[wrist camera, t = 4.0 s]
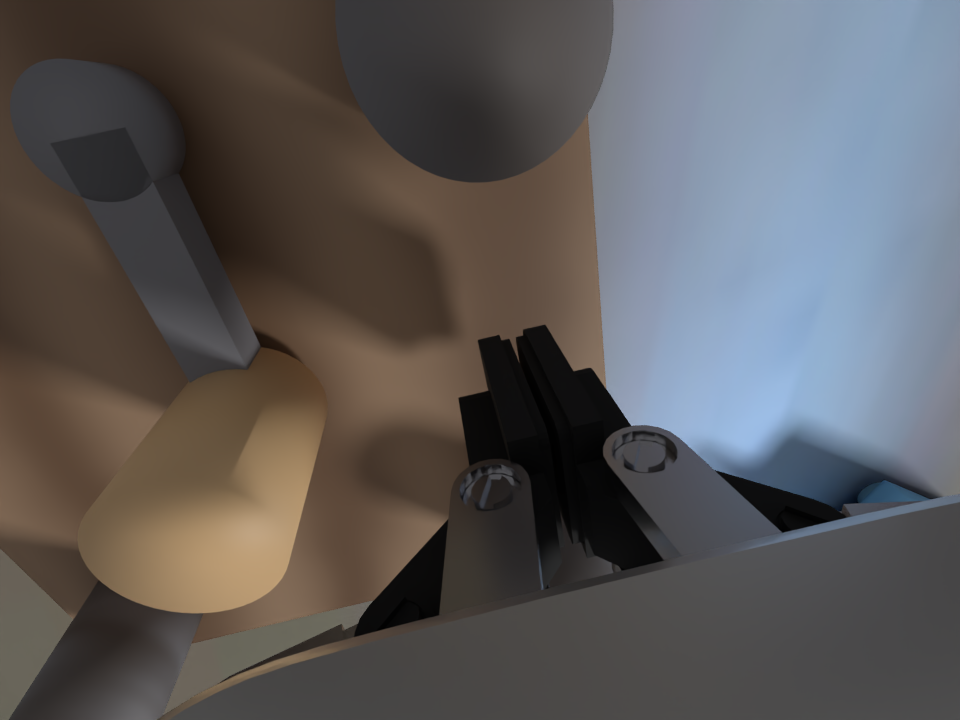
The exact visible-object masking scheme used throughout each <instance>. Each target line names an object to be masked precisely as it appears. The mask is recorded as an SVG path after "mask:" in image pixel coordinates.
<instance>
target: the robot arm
mask: <svg viewBox="0 0 960 720" xmlns="http://www.w3.org/2000/svg"><path fill="white" fill-rule="evenodd" d="M478 345H479V350H480V355H481V359H482V364H483V369H484V373H485V378H486V383H487V388H488V391H485V392H481V393H476V394H472V395H468V396H463V397H459V398H458V399H459V406H460V412H461V418H462V424H463V430H464V436H465V443H466V449H467V455H468V461H469V467H468V468H466V469H465V470H464V471H463V472H461V473H460V474H459V475H458V477H457V478H456V480H455V481H454V483H453V486H452V490H451V496H450V507H449V517H448V520H447V521H446V522H445V523H444V524H443V525H442V526H441V527H440V528H439V530H438V531H437V532H436V533H435V534H434V535H433V536H432V537H431V538H430V539H429V541H428V542H427V543H426V544H425V545H424V546H423V547H422V548H421V549H420V550H419V552H418V553H417V554H416V555H415V556H414V557H413V558H412V559H411V560H410V561H409V562H408V564H407V565H406V566H405V567H404V568H403V569H402V570H401V571H400V572H399V573H398V575H397V576H396V577H395V578H394V579H393V580H392V581H391V582H390V583H389V584H388V586H387V587H386V588H385V589H384V590H383V591H382V592H381V593H380V594H379V595H378V597H377V598H376V599H375V600H374V601H373V602H372V603H371V604H370V605H369V607H368V608H367V609H366V611H365V612H364V614H363V615H362V616H361V618H360V620H359V623H358V624H356V625H354V626H352V627H350V628H348V629H346V630H345V629H344V627H343V626H342V624H340V625H338V626H336V627H334V628H332V629H330V630H327V631H325V632H323V633H321V634H319V635H317V636H315V637H312V638H310V639H308V640H306V641H304V642H302V643H300V644H297V645H295V646H293V647H291V648H289V649H287V650H284V651H282V652H280V653H278V654H276V655H274V656H272V657H269V658H267V659H265V660H263V661H261V662H259V663H257V664H254V665H252V666H250V667H248V668H246V669H244V670H242V671H239V672H237V673H235V674H233V675H231V676H229V677H228V678H226V679H225V680H223V681H221V682H220V683H218V684H217V685H215V686H213V687H211V688H209V689H207V690H205V691H203V692H201V693H199V694H197V695H195V696H194V697H192V698H190V699H189V700H187V701H186V702H184V703H182V704H181V705H179V706H178V707H176V708H174V709H173V710H171V711H170V712H168V713H166V714H165V715H163V716H162V717H160V718H158V719H157V720H960V494H958V495H952V496H946V497H940V498H936V499H931V500H926V501H907V502H882V503H857V504H843V508H842V511H837V510H836V509H834V508H833V507H831V506H829V505H826V504H824V503H821V502H819V501H816V500H814V499H810V498H807V497H804V496H800V495H797V494H793V493H790V492H787V491H783V490H780V489H776V488H773V487H770V486H766V485H763V484H760V483H756V482H753V481H749V480H746V479H743V478H739V477H736V476H732V475H729V474H726V473H722V472H719V471H716V470H713V469H712V468H711V467H710V466H709V465H708V464H707V463H706V462H705V461H704V460H703V459H701V458H700V457H699V456H698V455H697V454H696V453H695V452H694V451H693V450H692V449H691V448H689V447H688V446H687V445H686V444H685V443H684V442H683V441H682V440H681V439H680V438H678V437H677V436H676V435H674V434H673V433H671V432H669V431H667V430H664V429H662V428H659V427H653V426H647V425H640V426H631V425H630V424H629V422H628V421H627V419H626V418H625V416H624V415H623V413H622V412H621V410H620V409H619V407H618V406H617V404H616V403H615V401H614V400H613V398H612V397H611V395H610V394H609V392H608V391H607V390H606V388H605V387H604V385H603V384H602V382H601V381H600V379H599V378H598V376H597V375H596V373H595V372H594V371H593V369H592V368H585V369H581V370H577V371H573V369H572V368H571V366H570V364H569V363H568V361H567V359H566V358H565V356H564V354H563V353H562V351H561V349H560V348H559V346H558V344H557V343H556V341H555V339H554V338H553V336H552V334H551V333H550V331H549V329H548V328H547V326H546V325H540V326H536V327H532V328H527V329H523V336H518V337H516V345H517V351H518V357H519V361H518V358H517V356H516V353H515V351H514V349H513V346H512V344H511V341H510V339H505V340H501V338H500V335H496V336H492V337H488V338H483V339H479V340H478ZM560 513H561V514H560ZM561 516H562V518H563V521H564V524H565V527H566V529H567V532H568V535H569V538H570V540H571V542H572V544H577V543H581V544H582V546H583V549H584V552H585V554H586V557H587V558H590V557H595V556H597V557H600V558H602V559H604V560H606V561H608V562H611V565H612V570H613V573H611V574H607V575H603V576H598V577H594V578H590V579H586V580H582V581H578V582H573V583H569V584H565V585H561V586H557V587H553V588H549V582H550V581H551V579H552V578H553V576H554V574H555V573H556V571H557V570H558V568H559V567H560V565H561V564H562V558H561V551H560V547H564V546H565V542H564V535H563V528H562V521H561Z"/></svg>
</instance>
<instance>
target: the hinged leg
mask: <svg viewBox="0 0 960 720" xmlns="http://www.w3.org/2000/svg"><path fill="white" fill-rule="evenodd" d="M10 114H11V121H12V124H13V128H14V131H15V133H16V136H17V138H18V140H19V142H20V144H21V146H22V148H23V150H24V151H25V152H26V154H27V155H28V157H29V158H30V159H31V161H32V162H33V163H34V164H35V165H36V167H37V168H38V169H39V170H40V171H41V172H42V173H43V174H44V175H46V176H47V177H48V178H49V179H50V180H52V181H53V182H54V183H56V184H57V185H59V186H60V187H62V188H64V189H65V190H67V191H69V192H71V193H73V194H75V195H78V196H80V197H82V199H83V200H84V202H85V204H86V206H87V207H88V209H89V211H90V212H91V214H92V216H93V218H94V219H95V221H96V223H97V224H98V226H99V228H100V230H101V231H102V233H103V235H104V236H105V238H106V240H107V242H108V243H109V245H110V247H111V248H112V250H113V252H114V254H115V255H116V257H117V259H118V260H119V262H120V264H121V266H122V267H123V269H124V271H125V272H126V274H127V276H128V278H129V279H130V281H131V283H132V284H133V286H134V288H135V290H136V291H137V293H138V295H139V296H140V298H141V300H142V302H143V303H144V305H145V307H146V308H147V310H148V312H149V314H150V315H151V317H152V319H153V320H154V322H155V324H156V326H157V327H158V329H159V331H160V332H161V334H162V336H163V337H164V339H165V341H166V343H167V344H168V346H169V348H170V349H171V351H172V353H173V355H174V356H175V358H176V360H177V361H178V363H179V365H180V367H181V368H182V370H183V372H184V373H185V375H186V377H187V379H188V380H189V382H188V383H187V384H186V385H185V387H184V388H183V389H182V391H181V392H180V393H179V394H178V396H177V397H176V398H175V399H174V401H173V402H172V403H171V405H170V406H169V407H168V408H167V410H166V411H165V412H164V414H163V415H162V416H161V417H160V419H159V420H158V421H157V423H156V424H155V425H154V426H153V428H152V429H151V430H150V431H149V433H148V434H147V435H146V437H145V438H144V439H143V440H142V442H141V443H140V444H139V446H138V447H137V448H136V449H135V451H134V452H133V453H132V455H131V456H130V457H129V458H128V460H127V461H126V462H125V464H124V465H123V466H122V467H121V469H120V470H119V471H118V472H117V474H116V475H115V476H114V478H113V479H112V480H111V481H110V483H109V484H108V485H107V487H106V488H105V489H104V490H103V492H102V493H101V494H100V496H99V497H98V498H97V499H96V501H95V502H94V503H93V504H92V506H91V507H90V508H89V510H88V511H87V512H86V514H85V515H84V517H83V519H82V521H81V523H80V526H79V530H78V539H77V540H78V547H79V551H80V554H81V557H82V559H83V561H84V562H85V564H86V566H87V567H88V569H89V570H90V571H91V572H92V574H93V575H94V576H95V577H96V578H97V579H98V580H99V581H101V582H102V583H103V584H104V585H106V586H107V587H108V588H110V589H111V590H113V591H114V592H116V593H118V594H119V595H121V596H123V597H125V598H127V599H130V600H132V601H134V602H137V603H140V604H142V605H145V606H149V607H152V608H156V609H161V610H166V611H171V612H180V613H212V612H220V611H225V610H231V609H234V608H238V607H241V606H244V605H246V604H249V603H252V602H254V601H256V600H257V599H259V598H261V597H263V596H264V595H266V594H267V593H269V592H270V591H271V590H272V589H273V588H274V587H275V586H276V585H277V584H278V583H279V582H280V580H281V579H282V578H283V576H284V574H285V572H286V570H287V567H288V564H289V560H290V557H291V553H292V549H293V545H294V541H295V537H296V533H297V530H298V526H299V522H300V518H301V514H302V510H303V507H304V503H305V499H306V495H307V491H308V487H309V483H310V480H311V476H312V472H313V468H314V464H315V460H316V457H317V453H318V449H319V445H320V441H321V437H322V433H323V430H324V426H325V422H326V418H327V412H328V402H327V397H326V394H325V391H324V388H323V386H322V384H321V383H320V381H319V380H318V378H317V377H316V376H315V374H314V373H313V372H312V371H311V370H310V369H309V368H308V367H306V366H305V365H304V364H303V363H301V362H300V361H298V360H297V359H295V358H293V357H291V356H289V355H287V354H285V353H282V352H280V351H276V350H273V349H269V348H263V347H261V346H260V344H259V342H258V340H257V337H256V335H255V333H254V331H253V329H252V327H251V325H250V323H249V321H248V318H247V316H246V314H245V312H244V310H243V308H242V306H241V304H240V302H239V299H238V297H237V295H236V293H235V291H234V289H233V287H232V285H231V283H230V281H229V278H228V276H227V274H226V272H225V270H224V268H223V266H222V264H221V262H220V259H219V257H218V255H217V253H216V251H215V249H214V247H213V245H212V243H211V240H210V238H209V236H208V234H207V232H206V230H205V228H204V226H203V224H202V221H201V219H200V217H199V215H198V213H197V211H196V209H195V207H194V205H193V202H192V200H191V198H190V196H189V194H188V192H187V190H186V188H185V186H184V184H183V181H182V179H181V177H180V175H179V172H180V170H181V168H182V166H183V162H184V159H185V152H186V143H185V135H184V131H183V128H182V125H181V122H180V120H179V118H178V116H177V114H176V112H175V110H174V108H173V107H172V105H171V104H170V102H169V101H168V100H167V99H166V97H165V96H164V95H163V94H162V93H161V92H160V91H159V90H158V89H157V88H156V87H155V86H154V85H153V84H151V83H150V82H149V81H148V80H146V79H145V78H143V77H142V76H140V75H138V74H137V73H135V72H133V71H131V70H128V69H126V68H124V67H120V66H117V65H113V64H106V63H98V62H90V61H81V60H72V59H49V60H45V61H41V62H38V63H36V64H34V65H32V66H30V67H29V68H28V69H26V70H25V71H24V72H23V73H22V74H21V75H20V77H19V78H18V79H17V81H16V83H15V85H14V87H13V90H12V93H11V99H10Z"/></svg>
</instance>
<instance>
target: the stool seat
mask: <svg viewBox="0 0 960 720" xmlns="http://www.w3.org/2000/svg"><path fill="white" fill-rule="evenodd" d="M612 35H613V0H0V549H1V550H3V551H4V552H5V553H6V554H7V555H8V556H9V557H10V558H11V559H12V560H13V561H14V562H15V563H16V564H17V565H18V566H19V567H20V568H21V569H22V570H23V571H24V572H25V573H26V574H27V575H28V576H29V577H30V578H31V579H32V580H33V581H35V582H36V583H37V584H38V585H39V586H40V587H41V588H42V589H43V590H44V591H45V592H46V593H47V594H48V595H49V596H50V597H51V598H52V599H53V600H54V601H55V602H56V603H57V604H58V605H59V606H60V607H61V608H62V609H63V610H64V611H65V612H66V613H68V614H69V615H70V616H71V617H72V618H73V621H72V622H71V624H70V626H69V627H68V629H67V630H66V632H65V633H64V635H63V636H62V638H61V640H60V641H59V643H58V644H57V646H56V647H55V649H54V650H53V652H52V653H51V655H50V657H49V658H48V660H47V661H46V663H45V664H44V666H43V667H42V669H41V671H40V672H39V674H38V675H37V677H36V678H35V680H34V681H33V683H32V684H31V686H30V688H29V689H28V691H27V692H26V694H25V695H24V697H23V698H22V700H21V702H20V703H19V705H18V706H17V708H16V709H15V711H14V712H13V714H12V715H11V717H10V719H9V720H157V719H158V718H160V717H162V716H163V713H164V711H165V708H166V706H167V703H168V701H169V698H170V696H171V693H172V691H173V688H174V686H175V683H176V681H177V678H178V676H179V673H180V671H181V668H182V666H183V663H184V661H185V658H186V656H187V653H188V651H189V648H190V646H191V644H192V643H196V642H200V641H204V640H209V639H213V638H217V637H221V636H225V635H229V634H234V633H238V632H242V631H246V630H250V629H255V628H259V627H263V626H267V625H271V624H275V623H280V622H284V621H288V620H292V619H296V618H301V617H305V616H309V615H313V614H317V613H321V612H326V611H330V610H334V609H338V608H342V607H347V606H351V605H355V604H359V603H363V602H367V601H372V600H375V599H376V598H377V597H378V595H379V594H380V593H381V592H382V591H383V590H384V589H385V588H386V587H387V586H388V584H389V583H390V582H391V581H392V580H393V579H394V578H395V577H396V576H397V575H398V573H399V572H400V571H401V570H402V569H403V568H404V567H405V566H406V565H407V564H408V562H409V561H410V560H411V559H412V558H413V557H414V556H415V555H416V554H417V553H418V552H419V550H420V549H421V548H422V547H423V546H424V545H425V544H426V543H427V542H428V541H429V539H430V538H431V537H432V536H433V535H434V534H435V533H436V532H437V531H438V530H439V528H440V527H441V526H442V525H443V524H444V523H445V522H446V521H447V520H448V517H449V507H450V496H451V490H452V486H453V483H454V481H455V480H456V478H457V477H458V475H459V474H460V473H461V472H463V471H464V470H465V469H466V468H468V467H469V461H468V455H467V449H466V443H465V436H464V430H463V424H462V418H461V412H460V406H459V399H458V398H459V397H463V396H468V395H472V394H476V393H481V392H485V391H488V388H487V383H486V378H485V373H484V369H483V364H482V359H481V355H480V350H479V345H478V340H479V339H483V338H488V337H492V336H496V335H500V338H501V340H505V339H510V341H511V344H512V346H513V349H514V351H515V353H516V356H517V358H518V361H519V357H518V351H517V345H516V337H518V336H523V329H527V328H532V327H536V326H540V325H546V326H547V328H548V329H549V331H550V333H551V334H552V336H553V338H554V339H555V341H556V343H557V344H558V346H559V348H560V349H561V351H562V353H563V354H564V356H565V358H566V359H567V361H568V363H569V364H570V366H571V368H572V369H573V371H577V370H581V369H585V368H592V369H593V371H594V372H595V373H596V375H597V376H598V378H599V379H600V381H601V382H602V384H603V385H604V387H605V388H606V380H605V365H604V350H603V335H602V320H601V305H600V290H599V275H598V260H597V245H596V230H595V215H594V200H593V185H592V170H591V155H590V140H589V125H588V112H589V110H590V109H591V107H592V105H593V103H594V101H595V98H596V96H597V94H598V92H599V90H600V87H601V84H602V81H603V78H604V75H605V72H606V69H607V64H608V60H609V55H610V51H611V43H612ZM49 59H72V60H81V61H90V62H98V63H106V64H113V65H117V66H120V67H124V68H126V69H128V70H131V71H133V72H135V73H137V74H138V75H140V76H142V77H143V78H145V79H146V80H148V81H149V82H150V83H151V84H153V85H154V86H155V87H156V88H157V89H158V90H159V91H160V92H161V93H162V94H163V95H164V96H165V97H166V99H167V100H168V101H169V102H170V104H171V105H172V107H173V108H174V110H175V112H176V114H177V116H178V118H179V120H180V122H181V125H182V128H183V131H184V135H185V143H186V152H185V159H184V162H183V166H182V168H181V170H180V172H179V175H180V177H181V179H182V181H183V184H184V186H185V188H186V190H187V192H188V194H189V196H190V198H191V200H192V202H193V205H194V207H195V209H196V211H197V213H198V215H199V217H200V219H201V221H202V224H203V226H204V228H205V230H206V232H207V234H208V236H209V238H210V240H211V243H212V245H213V247H214V249H215V251H216V253H217V255H218V257H219V259H220V262H221V264H222V266H223V268H224V270H225V272H226V274H227V276H228V278H229V281H230V283H231V285H232V287H233V289H234V291H235V293H236V295H237V297H238V299H239V302H240V304H241V306H242V308H243V310H244V312H245V314H246V316H247V318H248V321H249V323H250V325H251V327H252V329H253V331H254V333H255V335H256V337H257V340H258V342H259V344H260V346H261V347H263V348H269V349H273V350H276V351H280V352H282V353H285V354H287V355H289V356H291V357H293V358H295V359H297V360H298V361H300V362H301V363H303V364H304V365H305V366H306V367H308V368H309V369H310V370H311V371H312V372H313V373H314V374H315V376H316V377H317V378H318V380H319V381H320V383H321V384H322V386H323V388H324V391H325V394H326V397H327V402H328V412H327V418H326V422H325V426H324V430H323V433H322V437H321V441H320V445H319V449H318V453H317V457H316V460H315V464H314V468H313V472H312V476H311V480H310V483H309V487H308V491H307V495H306V499H305V503H304V507H303V510H302V514H301V518H300V522H299V526H298V530H297V533H296V537H295V541H294V545H293V549H292V553H291V557H290V560H289V564H288V567H287V570H286V572H285V574H284V576H283V578H282V579H281V580H280V582H279V583H278V584H277V585H276V586H275V587H274V588H273V589H272V590H271V591H270V592H269V593H267V594H266V595H264V596H263V597H261V598H259V599H257V600H256V601H254V602H252V603H249V604H246V605H244V606H241V607H238V608H234V609H231V610H225V611H220V612H212V613H180V612H171V611H166V610H161V609H156V608H152V607H149V606H145V605H142V604H140V603H137V602H134V601H132V600H130V599H127V598H125V597H123V596H121V595H119V594H118V593H116V592H114V591H113V590H111V589H110V588H108V587H107V586H106V585H104V584H103V583H102V582H101V581H99V580H98V579H97V578H96V577H95V576H94V575H93V574H92V572H91V571H90V570H89V569H88V567H87V566H86V564H85V562H84V561H83V559H82V557H81V554H80V551H79V547H78V540H77V539H78V530H79V526H80V523H81V521H82V519H83V517H84V515H85V514H86V512H87V511H88V510H89V508H90V507H91V506H92V504H93V503H94V502H95V501H96V499H97V498H98V497H99V496H100V494H101V493H102V492H103V490H104V489H105V488H106V487H107V485H108V484H109V483H110V481H111V480H112V479H113V478H114V476H115V475H116V474H117V472H118V471H119V470H120V469H121V467H122V466H123V465H124V464H125V462H126V461H127V460H128V458H129V457H130V456H131V455H132V453H133V452H134V451H135V449H136V448H137V447H138V446H139V444H140V443H141V442H142V440H143V439H144V438H145V437H146V435H147V434H148V433H149V431H150V430H151V429H152V428H153V426H154V425H155V424H156V423H157V421H158V420H159V419H160V417H161V416H162V415H163V414H164V412H165V411H166V410H167V408H168V407H169V406H170V405H171V403H172V402H173V401H174V399H175V398H176V397H177V396H178V394H179V393H180V392H181V391H182V389H183V388H184V387H185V385H186V384H187V383H188V382H189V380H188V379H187V377H186V375H185V373H184V372H183V370H182V368H181V367H180V365H179V363H178V361H177V360H176V358H175V356H174V355H173V353H172V351H171V349H170V348H169V346H168V344H167V343H166V341H165V339H164V337H163V336H162V334H161V332H160V331H159V329H158V327H157V326H156V324H155V322H154V320H153V319H152V317H151V315H150V314H149V312H148V310H147V308H146V307H145V305H144V303H143V302H142V300H141V298H140V296H139V295H138V293H137V291H136V290H135V288H134V286H133V284H132V283H131V281H130V279H129V278H128V276H127V274H126V272H125V271H124V269H123V267H122V266H121V264H120V262H119V260H118V259H117V257H116V255H115V254H114V252H113V250H112V248H111V247H110V245H109V243H108V242H107V240H106V238H105V236H104V235H103V233H102V231H101V230H100V228H99V226H98V224H97V223H96V221H95V219H94V218H93V216H92V214H91V212H90V211H89V209H88V207H87V206H86V204H85V202H84V200H83V199H82V197H80V196H78V195H75V194H73V193H71V192H69V191H67V190H65V189H64V188H62V187H60V186H59V185H57V184H56V183H54V182H53V181H52V180H50V179H49V178H48V177H47V176H46V175H44V174H43V173H42V172H41V171H40V170H39V169H38V168H37V167H36V165H35V164H34V163H33V162H32V161H31V159H30V158H29V157H28V155H27V154H26V152H25V151H24V150H23V148H22V146H21V144H20V142H19V140H18V138H17V136H16V133H15V131H14V128H13V124H12V121H11V114H10V99H11V93H12V90H13V87H14V85H15V83H16V81H17V79H18V78H19V77H20V75H21V74H22V73H23V72H24V71H25V70H26V69H28V68H29V67H30V66H32V65H34V64H36V63H38V62H41V61H45V60H49ZM560 514H561V513H560ZM561 521H562V528H563V535H564V542H565V546H564V547H560V551H561V558H562V564H561V565H560V567H559V568H558V570H557V571H556V573H555V574H554V576H553V578H552V579H551V581H550V582H549V588H553V587H557V586H561V585H565V584H569V583H573V582H578V581H582V580H586V579H590V578H594V577H598V576H603V575H607V574H611V573H613V570H612V565H611V562H608V561H606V560H604V559H602V558H600V557H597V556H595V557H590V558H587V557H586V554H585V552H584V549H583V546H582V544H581V543H577V544H572V542H571V540H570V538H569V535H568V532H567V529H566V527H565V524H564V521H563V518H562V516H561Z"/></svg>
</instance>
